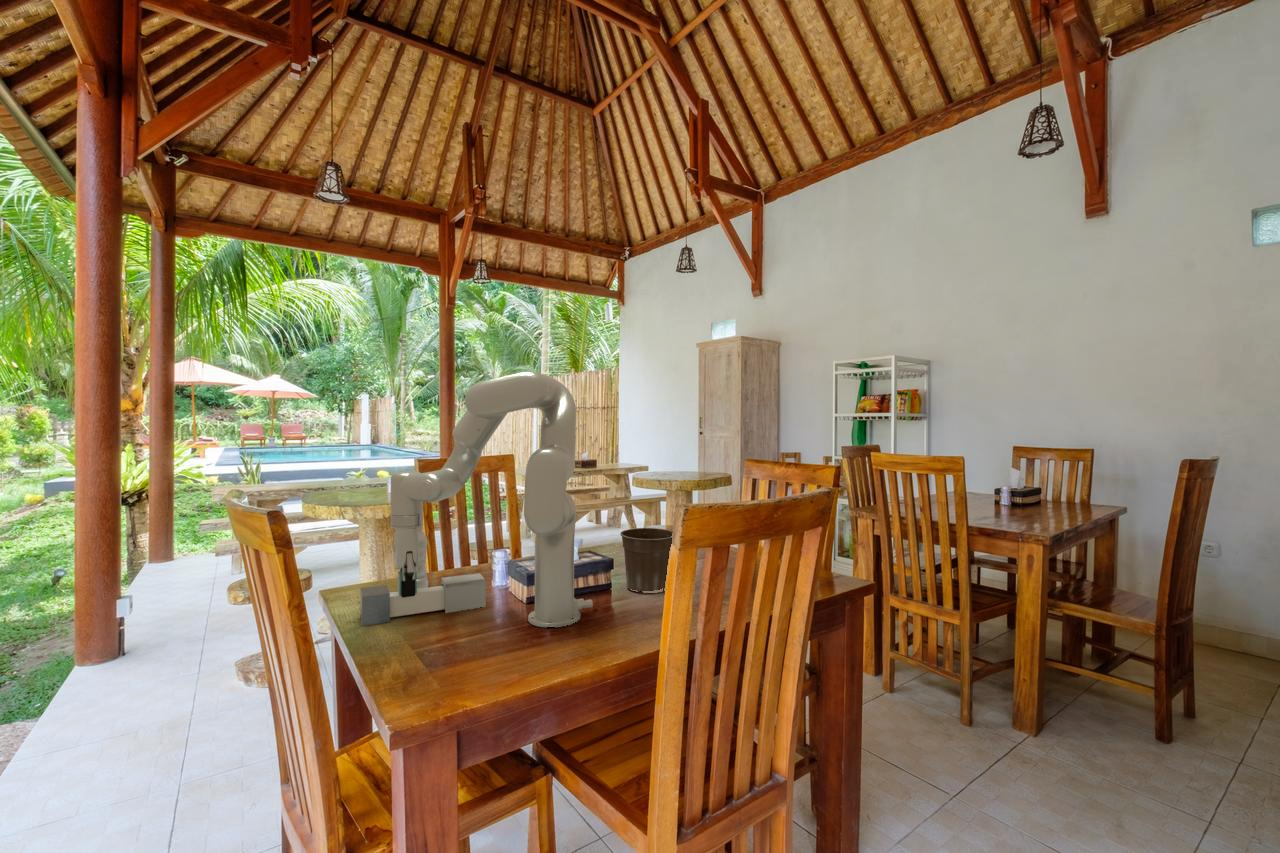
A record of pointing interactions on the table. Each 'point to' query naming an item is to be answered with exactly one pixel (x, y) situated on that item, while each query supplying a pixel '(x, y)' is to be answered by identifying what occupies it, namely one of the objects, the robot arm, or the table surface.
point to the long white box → (416, 600)
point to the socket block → (375, 605)
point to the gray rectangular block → (464, 592)
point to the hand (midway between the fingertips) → (407, 593)
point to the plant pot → (646, 557)
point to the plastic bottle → (422, 560)
